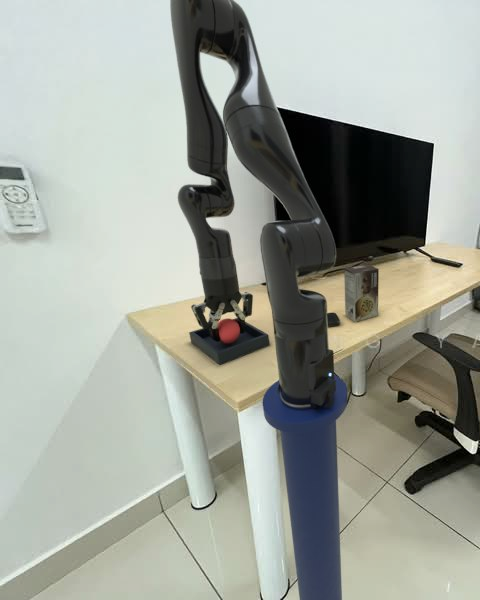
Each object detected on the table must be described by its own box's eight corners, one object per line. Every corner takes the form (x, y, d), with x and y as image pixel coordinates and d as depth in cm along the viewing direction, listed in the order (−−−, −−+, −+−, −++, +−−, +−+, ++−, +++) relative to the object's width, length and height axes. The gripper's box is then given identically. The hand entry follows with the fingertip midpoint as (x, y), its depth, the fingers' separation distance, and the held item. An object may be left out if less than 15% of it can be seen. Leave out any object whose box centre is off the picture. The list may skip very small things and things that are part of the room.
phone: (340, 321, 94) (288, 328, 88) (340, 325, 94) (288, 331, 88) (335, 312, 100) (286, 317, 95) (335, 315, 101) (286, 320, 95)
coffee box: (367, 309, 107) (368, 263, 101) (378, 315, 102) (379, 268, 97) (344, 315, 101) (343, 267, 95) (355, 322, 97) (354, 272, 91)
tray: (269, 345, 81) (268, 334, 80) (219, 365, 72) (217, 353, 71) (239, 327, 90) (238, 317, 89) (191, 342, 81) (188, 332, 79)
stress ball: (245, 334, 85) (233, 314, 84) (244, 337, 77) (231, 314, 76) (226, 344, 83) (213, 323, 82) (223, 348, 75) (209, 325, 74)
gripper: (192, 283, 67) (206, 352, 73) (256, 271, 78) (263, 331, 84) (178, 276, 71) (192, 341, 77) (241, 265, 82) (249, 323, 88)
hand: (229, 336), depth 80 cm, fingers closed on stress ball, 5 cm apart
